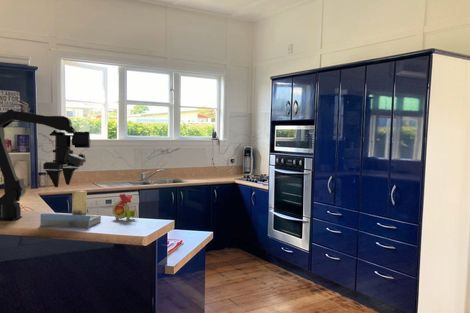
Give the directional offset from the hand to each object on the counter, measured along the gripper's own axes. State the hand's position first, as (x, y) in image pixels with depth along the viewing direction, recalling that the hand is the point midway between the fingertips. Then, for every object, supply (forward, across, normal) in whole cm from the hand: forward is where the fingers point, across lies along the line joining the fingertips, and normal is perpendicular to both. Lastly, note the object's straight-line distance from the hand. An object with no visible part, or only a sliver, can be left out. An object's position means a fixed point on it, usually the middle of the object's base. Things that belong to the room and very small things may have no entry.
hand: (62, 185), depth 155 cm
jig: (+13, -10, -9) cm, 19 cm away
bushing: (+13, -10, -12) cm, 20 cm away
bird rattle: (+13, +1, -25) cm, 28 cm away
